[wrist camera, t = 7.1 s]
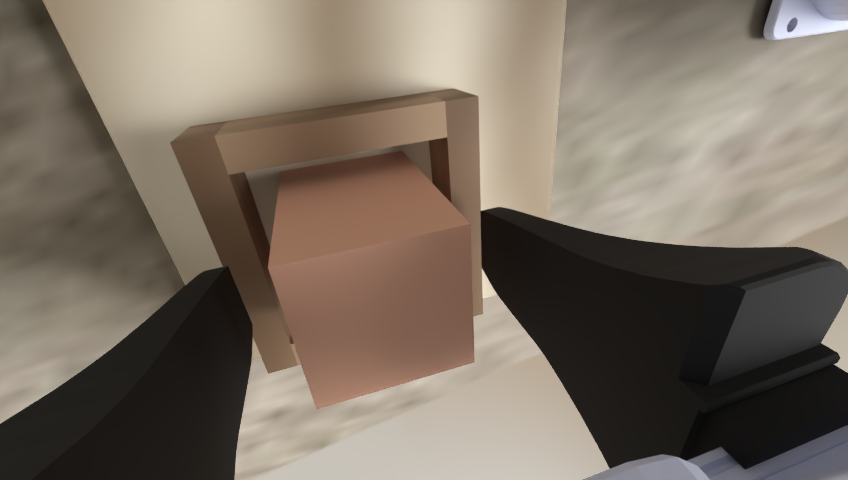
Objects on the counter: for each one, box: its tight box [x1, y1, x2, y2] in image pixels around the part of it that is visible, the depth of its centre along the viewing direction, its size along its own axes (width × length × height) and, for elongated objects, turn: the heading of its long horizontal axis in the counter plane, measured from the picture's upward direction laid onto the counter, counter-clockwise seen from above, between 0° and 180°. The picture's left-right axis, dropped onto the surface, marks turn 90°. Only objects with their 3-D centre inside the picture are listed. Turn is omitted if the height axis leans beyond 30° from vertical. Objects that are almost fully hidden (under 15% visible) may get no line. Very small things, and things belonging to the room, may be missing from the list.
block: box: [268, 151, 474, 409], centre depth 11 cm, size 4×4×6 cm
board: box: [43, 0, 567, 373], centre depth 11 cm, size 14×20×3 cm
